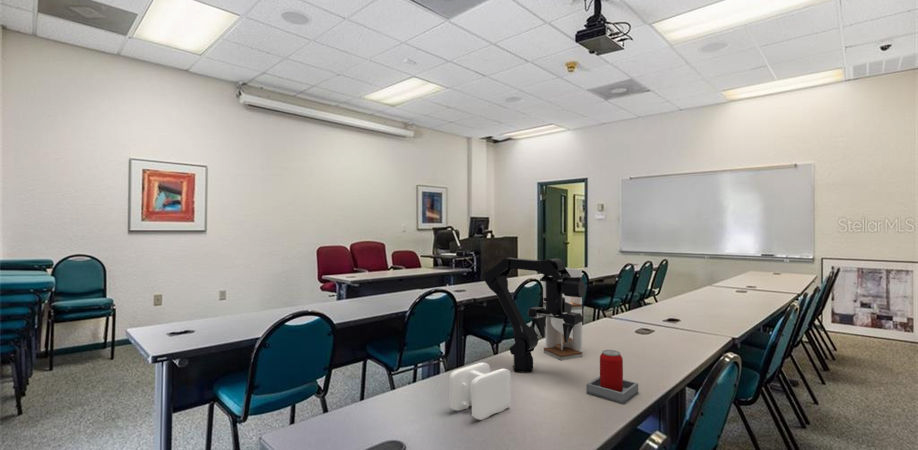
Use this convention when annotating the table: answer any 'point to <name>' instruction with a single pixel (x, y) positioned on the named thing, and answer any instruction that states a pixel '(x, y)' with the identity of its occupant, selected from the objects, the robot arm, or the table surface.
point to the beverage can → (611, 370)
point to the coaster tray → (612, 391)
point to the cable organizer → (479, 390)
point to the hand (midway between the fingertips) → (554, 339)
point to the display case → (555, 328)
